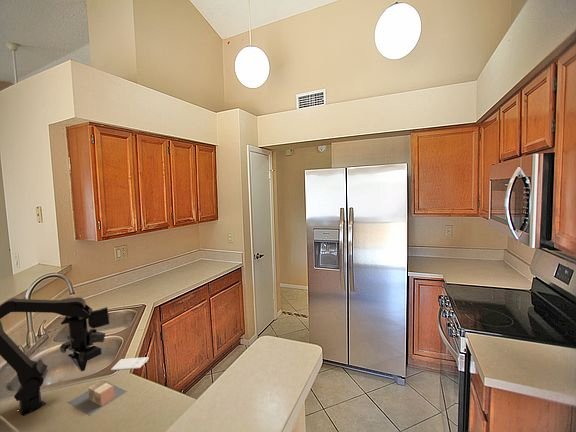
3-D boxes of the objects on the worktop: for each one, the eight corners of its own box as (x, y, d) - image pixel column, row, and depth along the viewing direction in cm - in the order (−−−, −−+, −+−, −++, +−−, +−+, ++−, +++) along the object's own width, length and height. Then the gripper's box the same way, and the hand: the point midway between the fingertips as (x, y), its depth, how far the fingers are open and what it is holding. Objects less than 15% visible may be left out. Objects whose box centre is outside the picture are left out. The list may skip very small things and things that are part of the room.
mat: (67, 403, 102) (67, 402, 102) (105, 382, 114) (105, 381, 114) (89, 416, 95) (89, 415, 95) (127, 392, 107) (127, 391, 106)
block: (88, 387, 103) (100, 394, 99) (101, 380, 107) (113, 386, 103) (89, 399, 103) (101, 406, 99) (102, 391, 107) (114, 397, 103)
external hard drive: (121, 362, 129) (148, 359, 130) (110, 373, 121) (140, 370, 121) (121, 358, 129) (148, 356, 129) (110, 369, 121) (139, 366, 121)
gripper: (113, 326, 110) (117, 365, 111) (88, 319, 119) (92, 354, 120) (82, 339, 100) (86, 381, 101) (57, 330, 109) (61, 369, 110)
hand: (82, 370), depth 109 cm, fingers closed
